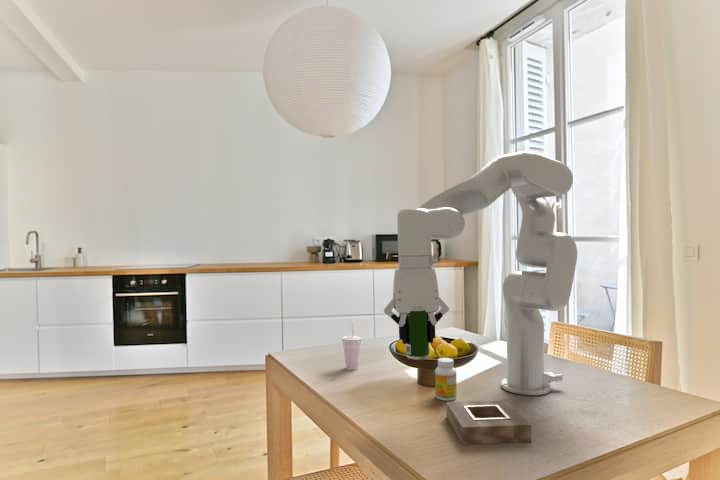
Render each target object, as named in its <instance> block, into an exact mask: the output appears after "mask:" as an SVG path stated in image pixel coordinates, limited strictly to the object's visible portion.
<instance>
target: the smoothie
mask: <svg viewBox="0 0 720 480" xmlns="http://www.w3.org/2000/svg"><path fill="white" fill-rule="evenodd" d="M354 327H355V326H354V323H351V335H345V336H342V337H341V342H342V347H343V353H344V354H343V355H344V361H345V368H346V370H348V371H355V370H359V364H360V356H361V355H360V353H361V347H362V341H363V337H362V336H360V335H354V332H355V331H354V330H355V329H354Z"/></svg>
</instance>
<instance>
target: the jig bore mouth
mask: <svg viewBox="0 0 720 480" xmlns="http://www.w3.org/2000/svg"><path fill="white" fill-rule="evenodd" d="M463 407H464V408H465V410H466V411H467V412H468V414H469V415H470V416H471V418H472V419H473V421H477V420H506V419H510V417H509V416H508V415H507V414H506V413H505V412H504V411H503V410H502V409H501V408H500V407H499V406H498V405H474V406H463ZM472 407H497V409H498V410H499V411H500V412H501V413H502V414H503V415H504V416H505V417H503V418H475V417H474V416H473V414H472V413H471V412H470V410H469V409H468V408H472Z"/></svg>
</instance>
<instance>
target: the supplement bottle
mask: <svg viewBox="0 0 720 480" xmlns="http://www.w3.org/2000/svg"><path fill="white" fill-rule="evenodd" d="M454 363H455V361H454V359H453V358H449V357H440V358H438V359H437V367H436V368H435V370H434V375H435V377H434V378H435V379H434V383H435V386H434V387H435V388H434V390H435V392H434V393H435V398H436V399H438V400H441V401H446V402H451V401H454V400H456V399H457V390H458V389H457V387H458V386H457V370H456V368H455V367H454Z"/></svg>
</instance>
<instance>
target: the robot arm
mask: <svg viewBox="0 0 720 480" xmlns="http://www.w3.org/2000/svg"><path fill="white" fill-rule="evenodd" d="M573 182H574V176H573V173H572V171H571V169H570V168H569V166H568V165H566V164H565V163H563V162H562V161H559V160H557V159H554V158H551V157H549V156H547V155H545V154H541V153H538V152H535V151H530V150H525V151H524V150H523V151H518V152H513V153H512V152H511V153H506V154H502V155H499V156H497V157H495V158H493V159H492V160H490V161H489V162H488V163H486V164H485V165H484V166H483V167H482V168H480V169H479V170H478V171H477V172H475V173H474V174H472V175H471V176H470V177H468V178H467V179H466V180H464V181H462V182H460V183H458V184H456V185H454V186H451V187H450V188H448V189H446V190H444V191H442V192H440V193H438V194H436V195H434V196H433V197H432V198H430V199H428V200H427V201H425V202H424V203H423V204H422V205H420V206H419V207H418V208H405V209H401V210H399V211H398V213H397V217H396V219H397V224H396V225H397V249H398V252H397V253H398V268H396V269H395V270H394V275H393V277H394V278H393V289H392V291H393V292H392V299H391V300H390V301H389V303H387V305H386V306H385V307H384V308H383V313H384V314H385V315H386V316H388V317H389V318H390V319H392V320H393V321H394V322H395V324H397V325H398V338H399V340H400V341H402V342H401V343H402V344H403V345H406V343H407V329H406V326H405V320H406V316H407V314H408V313H410V311H411V310H412V309H413V306H423V307H422V308H424V309H425V310H426V312H427V313H428V318H429V344H433V343H434V339H436V325H437V323H438V322H439V321H440V320H441V319H442V318H443V316H444V315H446V313H448V311H449V310H450V307H449V306H448V305H447V304H446V303H445V301H443V300H442V298H441V297H440V293H439V284H438V279H437V273H436V269H435V268H434V267H433V265H434V264H438V263H439V258H438V256H437V257H436V256H433V255H432V240H439V241H440V240H442V241H443V240H444V241H446V240H447V241H448V240H453V239H456V238H457V237H459V236H460V235H461V234H462V233H463V231H464V229H465V227H466V225H465V224H466V223H465V218H464V216H463V215H469V214H472V213H476V212H478V211H481V210H483V209H486V208H488V207H489V206H490V205H492V204H493V203H494V202H495V201H496V200H497V199H498V198H500V197H501V196H502V195H503V194H505V193H506V192H507V191H508V190H511V191H512V193H513V195H514V197H515V198H516V200H517V201H518V204H519V206H520V208H521V213H522V214H521V216H522V217H521V223H520V227H519V233H518V238H517V244H516V250H515V258H516V261H517V262H518V264H520V265H521V266H524V267H529V268H536V269H545V270H546V271H545V272H539V271H530V270H529V271H527V270H517V271H514V272H513V271H512V272H511V273H509V274H508V275H506V277H505V278H504V280H503V281H502V295H503V301H504V305H505V311H506V378H503V379H502V380H501V382H500V384H501V385H500V386H501V388H502V389H504V390H505V391H507V392H510V393H513V394H517V395H524V396H540V395H541V396H543V395H545V394H548V393H550V391H551V384H552V382H556V383H557V382H563V375H562V374H559V373H557V374H554V373H553V372H546V370H545V323H544V318H543V316H542V314H541V312H540V310H542V311H550V312H558V311H561V310H563V309H564V308H566V306H568V305H567V304H568V303H569V300H570V298H571V293H572V289H573V282H574V277H575V273H576V267H577V262H578V261H577V260H578V248H577V244H576V241H575V240H574V238H573V237H572V236H571V235H569V234H567V233H564V232H554V229H555V222H556V216H555V212H554V209H553V207H552V206H551V204H550V203H549V201H548V200H547V198H552V197H560V196H563V195H565V194H567V193H568V192H570V190H571V188H572V186H573ZM393 309H394V310H395V312H397V313H398V315H397V314H395V312H394V311H393ZM435 312H436V313H435Z"/></svg>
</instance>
